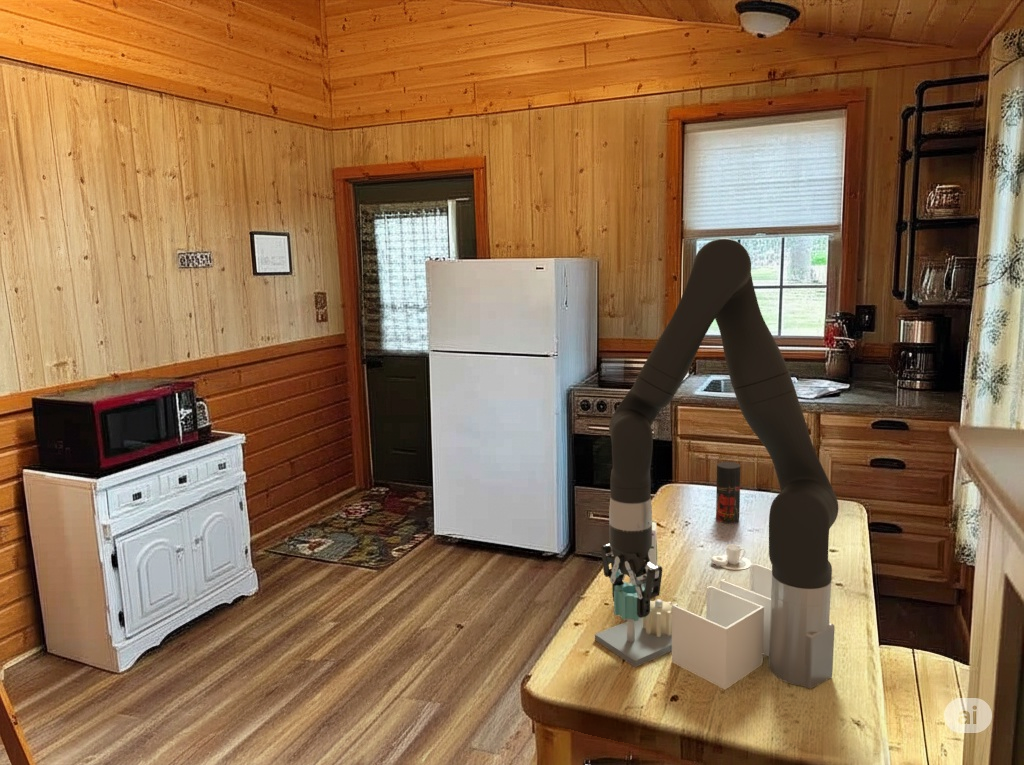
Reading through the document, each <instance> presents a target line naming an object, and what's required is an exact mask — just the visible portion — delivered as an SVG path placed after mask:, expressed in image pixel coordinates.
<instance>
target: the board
mask: <svg viewBox="0 0 1024 765" xmlns="http://www.w3.org/2000/svg"><path fill="white" fill-rule="evenodd" d="M672 605H673V604H672V602H671V601H670V600H669V601H664V600H662V598H661V599H660V598H657V599H655V600H651V599H650V613H649V614H648V615H647V617H646V618H645V617H642V618H638V621H634V619H626V621H625V622H622V623H619V624H618V625H615V626H612V627H610V628H607V629H604V630H602V631H599V632H598V633H595V634H594V640H595V641H596V642H597V643H599V644H600V645H601V646H603V647H604V648H606V649H607V650H609V651H611V653H613V654H615V655H616V656H618V657H619V658H621V659H622V660H624V661H625V662H627V663H628V664H629V665H631V666H633V667H634V668H636V667H639V666H641V665H643V664H646V663H648V662H650V661H652V660H654V659H657V658H659V657H662V656H663V655H666V654H668V653H670V652H672Z"/></svg>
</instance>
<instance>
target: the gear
mask: <svg viewBox="0 0 1024 765" xmlns="http://www.w3.org/2000/svg"><path fill="white" fill-rule="evenodd" d="M623 583H624V584H622V585H620V586H619V585H616V586H615V591H614V601H613V614H614V615H615V616H619V617H621V620H622V621H627V619H634V621H638V618H640V617H639V616H637V597H638V595H637V592H636V588H635V586H633V585H632V584H630V582H628V581H623ZM641 587H642V586H641ZM642 590H643V591H644V590H645V588H644V587H642ZM646 617H647V616H645V618H646Z"/></svg>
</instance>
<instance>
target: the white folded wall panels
mask: <svg viewBox="0 0 1024 765" xmlns="http://www.w3.org/2000/svg"><path fill="white" fill-rule="evenodd" d="M749 568H750V569H749V570H750V573H749V579H750V580H749V589H748V588H747V589H746V588H744V587H741V586H739V585H737V584H733V583H731V582H728V581H726V579H725V578H722V579H720V580H719V588H717V587H715V586H713V585H709V586H707V587H706V600H705V601H706V602H705V604H706V606H705V607H706V608H705V610H706V611H705V612H706V614H705V617H703V616H700V615H698V614H696V613H693V612H692V611H689V610H687V609H685V608H682V607H680V606H679V604H678V603H674V604H672V651H671V663H673V664H675V665H677V666H678V667H680V668H682V669H684V670H687V671H688V672H690V673H693V674H694V675H696V676H697V677H699V678H702V679H704V680H705V681H707V682H710V683H712V684H713V685H716V686H717V687H719V688H720V689H722V690H727V689H729V688H730V687H732V686H733V685H735V683H737V682H739V681H740V680H742V679H743V678H744V677H746V676H748V675H749V674H750V673H751V672H753V671H755V670H756V669H757V668H759V667H761V666H763V660H764V659H763V658H764V656H767V657H769V646H770V645H769V644H770V615H771V588H772V568H769V567H766V566H764V565H760V564H758V563H755V562H754V563H751V566H750V567H749ZM763 655H764V656H763Z"/></svg>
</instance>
